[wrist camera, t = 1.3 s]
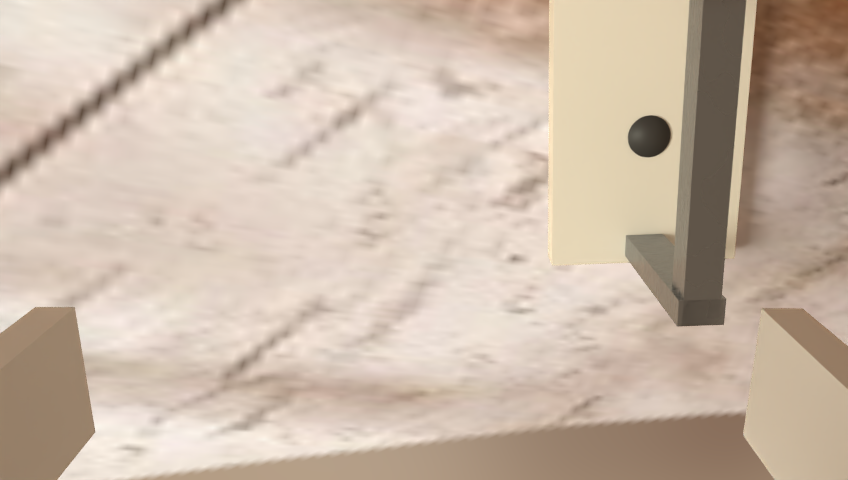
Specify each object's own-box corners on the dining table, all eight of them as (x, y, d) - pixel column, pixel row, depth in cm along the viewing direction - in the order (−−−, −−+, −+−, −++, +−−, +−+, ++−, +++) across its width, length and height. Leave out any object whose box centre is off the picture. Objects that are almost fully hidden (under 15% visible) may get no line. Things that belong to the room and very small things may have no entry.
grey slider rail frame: (644, -236, 33) (718, -321, 24) (688, -239, 33) (779, -324, 24) (624, 255, 40) (677, 326, 32) (661, 254, 40) (723, 324, 32)
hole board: (550, -295, 34) (556, -310, 32) (769, -309, 34) (786, -324, 32) (548, 255, 42) (552, 266, 41) (723, 249, 42) (735, 259, 40)
